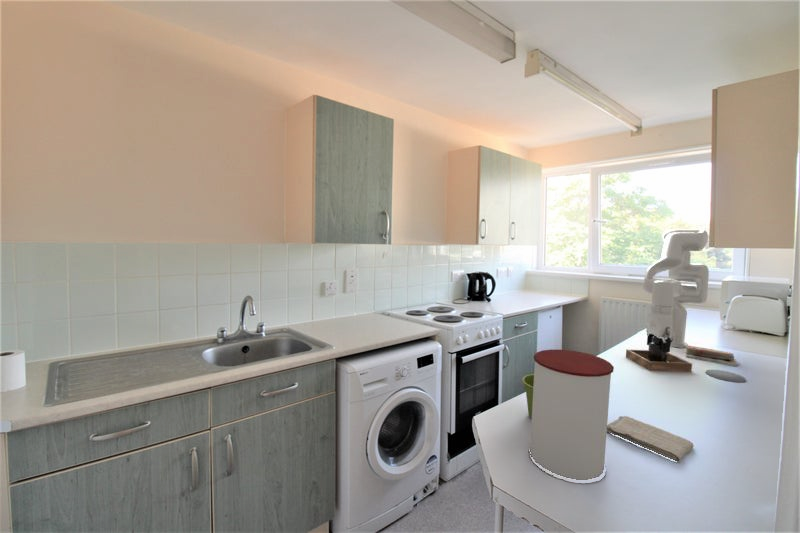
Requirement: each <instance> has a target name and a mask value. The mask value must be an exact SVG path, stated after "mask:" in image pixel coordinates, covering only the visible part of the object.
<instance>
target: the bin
mask: <svg viewBox="0 0 800 533" xmlns="http://www.w3.org/2000/svg"><path fill="white" fill-rule="evenodd" d="M625 357H626V359H628V360H630V361H632V362H634V363H635V364H637V365H639V366H640V367H642V368H644V369H646V370H647V371H651V372H652V371H654V372H655V371H656V372H678V373H679V372H681V373H692V370H693V363H691V362H689V361H687V360H685V359H682V358H680V357H679V356H677V355H675V354H673V353H670V352H667V362H651V361H649V360H648V349H628V348H627V349H626V350H625Z"/></svg>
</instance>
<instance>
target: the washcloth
mask: <svg viewBox="0 0 800 533" xmlns="http://www.w3.org/2000/svg"><path fill="white" fill-rule="evenodd" d="M607 432H609V433H612V434H614V435H618V436H620V437H622V438H624V439H627V440H629V441H631V442H633V443H635V444H638V445H640V446H642V447H644V448H647V449H649V450H652V451H654V452H656V453H658V454H661V455H663V456H665V457H668V458H670V459H673V460H675V461H677V462H678V463H681V462H682V461H683V460H684V457H685V456H686V455H688V454H689V453H691V451H692V450H693V449H694V443H693V442H692V441H690V440H689V439H686V438H684V437H681V436H679V435H676V434H673V433H671V432H669V431H666V430H664V429H661V428H659V427H656V426H654V425H651V424H648V423H646V422H643V421H641V420H637V419H635V418H633V417H630V416H627V415H624V416H618V418H617V419H615V420H614V421H611V422H609V423H607ZM609 433H608V434H609ZM680 461H681V462H680Z"/></svg>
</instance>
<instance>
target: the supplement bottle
mask: <svg viewBox="0 0 800 533" xmlns="http://www.w3.org/2000/svg"><path fill="white" fill-rule="evenodd" d="M662 342H663V340H662V337H658V336H652V342H650V343H649V345H648V349H647V350H648V358H647V360H649V361H651V362H668V361H667V352H662V351H661V348H662Z"/></svg>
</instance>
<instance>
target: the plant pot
mask: <svg viewBox="0 0 800 533" xmlns="http://www.w3.org/2000/svg"><path fill="white" fill-rule="evenodd" d="M521 381H522V383H523V385H524V390H525V395H526V396H525V397H526V403H527V413H528V417H529V418H530V417H531V418H532V404H533V386H534V373H532V374H527V375H524V376H523V377H522V378H521ZM531 418H530V419H531Z"/></svg>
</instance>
